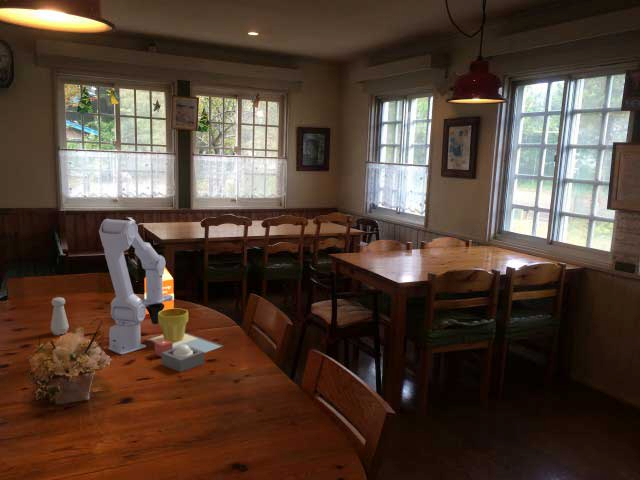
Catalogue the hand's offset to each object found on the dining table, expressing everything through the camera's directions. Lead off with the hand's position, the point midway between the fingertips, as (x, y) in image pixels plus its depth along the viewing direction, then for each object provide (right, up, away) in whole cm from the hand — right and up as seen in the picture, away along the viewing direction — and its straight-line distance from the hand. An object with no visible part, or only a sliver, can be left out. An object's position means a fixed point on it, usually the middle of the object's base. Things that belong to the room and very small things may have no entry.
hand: (155, 323), depth 194 cm
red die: (+9, -7, -20) cm, 23 cm away
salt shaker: (-33, -3, -4) cm, 33 cm away
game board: (+13, -5, -9) cm, 17 cm away
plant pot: (+8, -5, -6) cm, 11 cm away
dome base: (+17, -8, -27) cm, 33 cm away
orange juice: (-5, 0, +23) cm, 23 cm away
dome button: (+17, -7, -27) cm, 33 cm away
